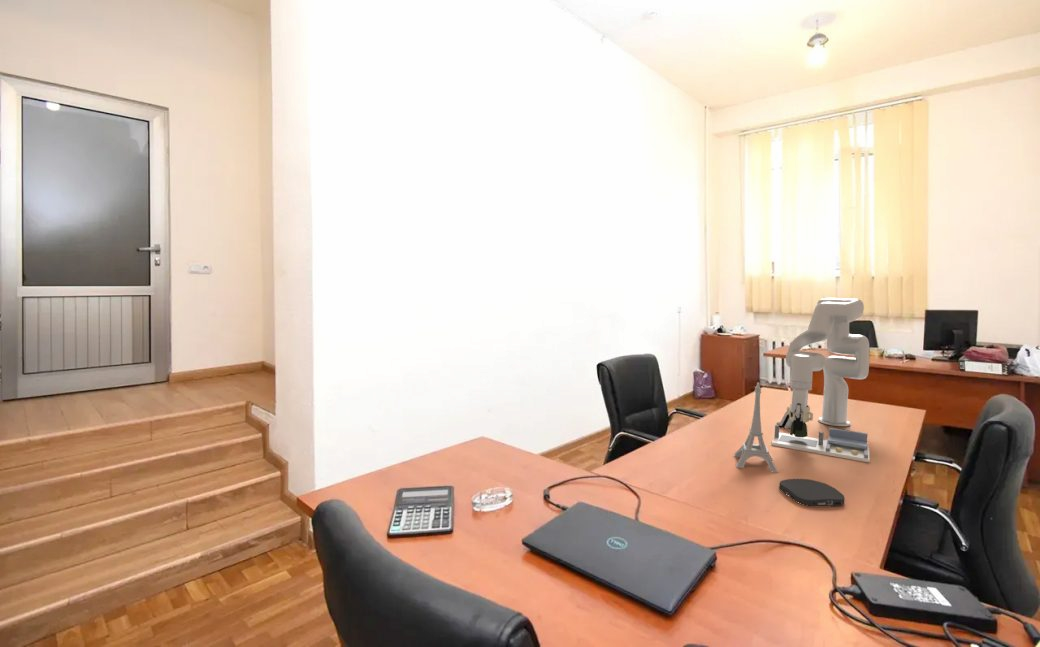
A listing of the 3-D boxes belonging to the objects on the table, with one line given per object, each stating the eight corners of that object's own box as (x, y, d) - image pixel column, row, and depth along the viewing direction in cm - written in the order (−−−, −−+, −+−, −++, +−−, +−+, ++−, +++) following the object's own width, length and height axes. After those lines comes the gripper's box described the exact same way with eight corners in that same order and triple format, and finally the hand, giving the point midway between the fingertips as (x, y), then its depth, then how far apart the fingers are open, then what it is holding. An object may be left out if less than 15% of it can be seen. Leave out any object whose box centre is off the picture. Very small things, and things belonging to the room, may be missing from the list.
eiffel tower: (736, 467, 170) (739, 385, 167) (733, 455, 182) (736, 378, 180) (778, 472, 165) (782, 388, 163) (772, 459, 178) (776, 380, 175)
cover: (829, 437, 194) (829, 427, 194) (866, 443, 187) (867, 433, 187) (828, 442, 188) (828, 432, 187) (866, 449, 180) (867, 438, 180)
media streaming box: (818, 486, 155) (818, 477, 155) (850, 507, 140) (851, 497, 140) (774, 487, 154) (774, 478, 154) (802, 508, 140) (802, 498, 140)
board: (777, 434, 206) (777, 420, 205) (868, 449, 187) (869, 434, 186) (771, 445, 193) (772, 430, 192) (869, 462, 174) (870, 446, 174)
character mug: (780, 433, 198) (781, 403, 196) (791, 431, 201) (792, 401, 199) (805, 441, 188) (807, 409, 187) (817, 439, 191) (818, 407, 190)
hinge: (792, 419, 228) (800, 402, 224) (802, 425, 225) (810, 407, 221) (775, 426, 218) (783, 407, 215) (785, 431, 215) (794, 413, 211)
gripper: (793, 380, 201) (791, 420, 203) (787, 387, 187) (785, 431, 189) (813, 382, 197) (811, 424, 199) (809, 390, 183) (807, 435, 185)
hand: (798, 427), depth 194 cm, fingers closed on character mug, 7 cm apart
